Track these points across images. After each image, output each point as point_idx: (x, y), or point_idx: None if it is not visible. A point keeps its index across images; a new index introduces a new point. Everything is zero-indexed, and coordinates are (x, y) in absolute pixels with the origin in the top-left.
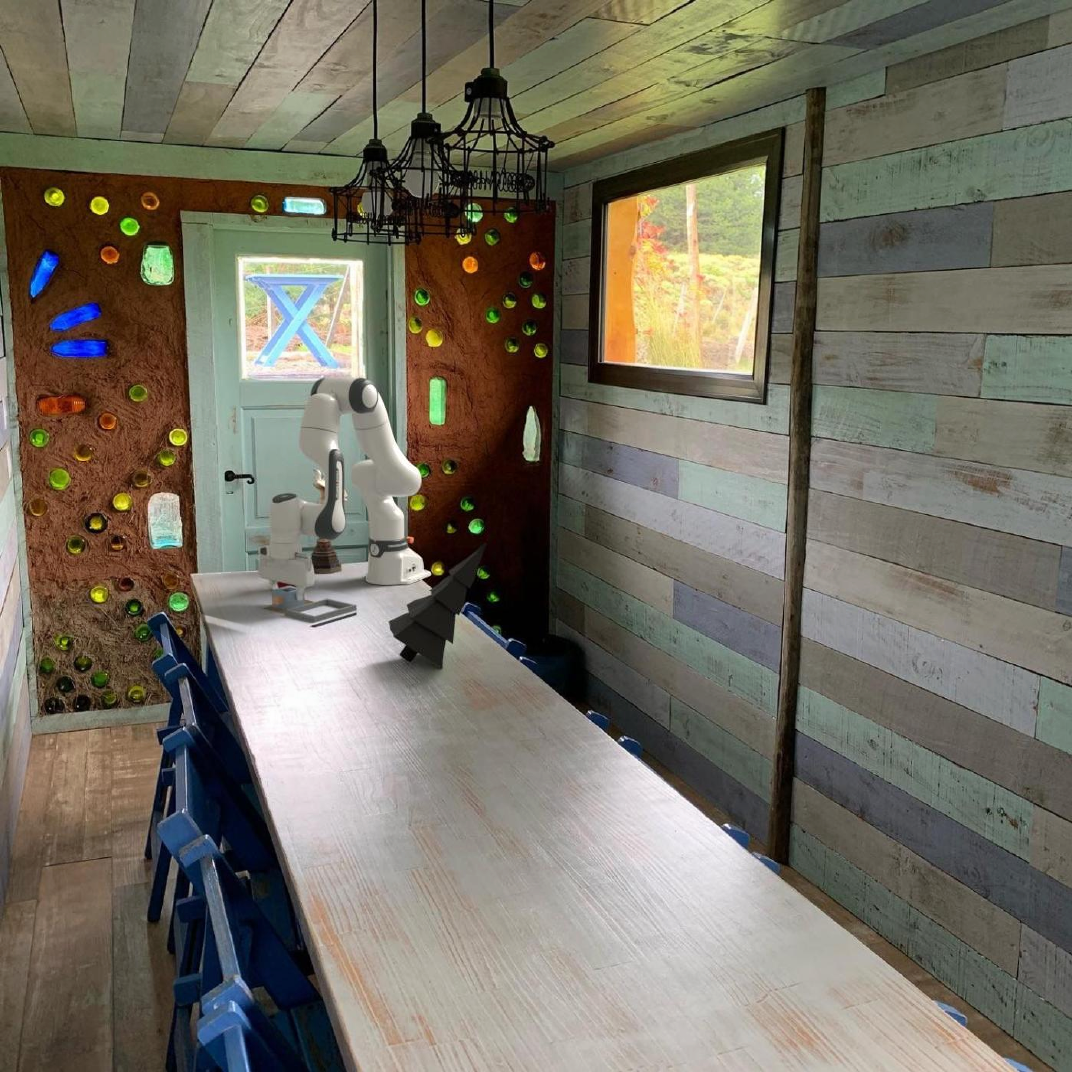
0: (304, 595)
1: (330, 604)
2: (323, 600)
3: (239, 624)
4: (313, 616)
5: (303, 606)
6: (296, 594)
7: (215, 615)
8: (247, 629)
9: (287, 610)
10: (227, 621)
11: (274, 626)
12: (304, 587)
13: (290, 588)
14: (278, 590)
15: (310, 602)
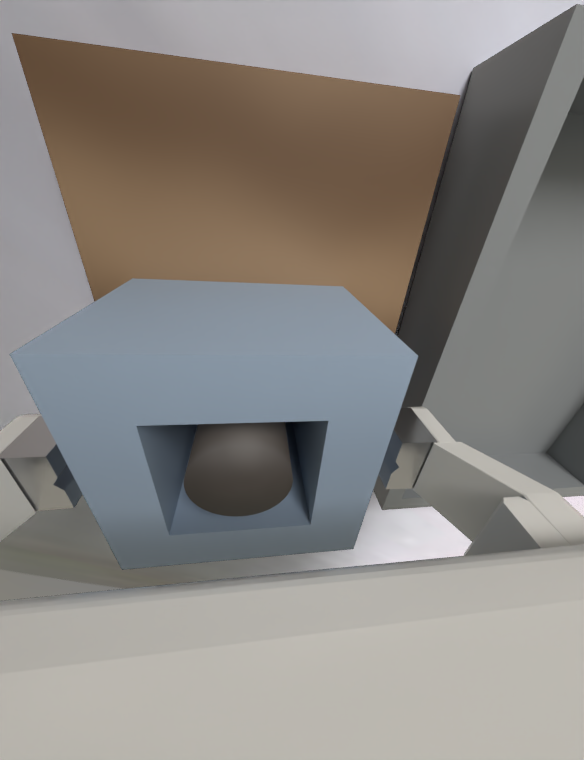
0: (377, 318)
1: (581, 95)
2: (549, 153)
3: (245, 563)
4: (582, 493)
5: (437, 408)
6: (417, 489)
7: (46, 567)
8: (316, 568)
9: (400, 507)
10: (175, 570)
11: (376, 518)
12: (565, 516)
13: (184, 418)
14: (192, 547)
15: (309, 144)
